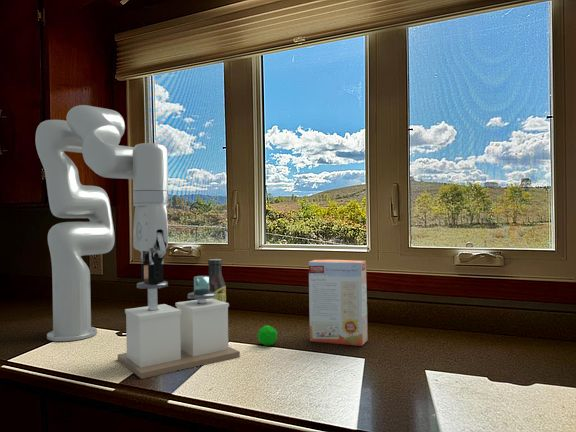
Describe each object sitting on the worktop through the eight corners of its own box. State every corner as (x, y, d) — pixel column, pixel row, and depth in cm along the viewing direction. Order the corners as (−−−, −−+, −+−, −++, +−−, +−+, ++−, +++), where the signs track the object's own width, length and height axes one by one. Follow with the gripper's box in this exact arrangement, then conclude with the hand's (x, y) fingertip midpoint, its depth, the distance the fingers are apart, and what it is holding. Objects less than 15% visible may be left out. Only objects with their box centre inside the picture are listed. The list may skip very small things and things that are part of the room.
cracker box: (368, 341, 119) (367, 259, 119) (362, 347, 113) (361, 262, 113) (316, 336, 124) (315, 258, 124) (309, 341, 118) (307, 260, 118)
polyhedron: (280, 343, 117) (280, 324, 117) (271, 348, 113) (271, 329, 113) (263, 341, 120) (263, 323, 120) (254, 346, 115) (253, 327, 115)
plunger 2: (183, 336, 111) (182, 276, 111) (208, 332, 114) (207, 274, 114) (195, 342, 105) (194, 279, 105) (221, 337, 109) (220, 276, 109)
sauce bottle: (221, 329, 133) (220, 260, 133) (201, 328, 134) (200, 260, 134) (229, 324, 139) (228, 258, 139) (209, 323, 140) (208, 258, 140)
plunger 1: (133, 329, 103) (132, 265, 103) (161, 324, 107) (160, 262, 107) (143, 334, 98) (142, 267, 98) (173, 330, 102) (172, 265, 102)
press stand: (117, 359, 106) (116, 307, 106) (208, 342, 120) (207, 295, 120) (141, 378, 93) (140, 319, 93) (239, 356, 107) (238, 305, 107)
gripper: (122, 200, 107) (123, 279, 107) (147, 198, 94) (149, 288, 94) (154, 201, 112) (155, 276, 112) (182, 198, 98) (183, 284, 98)
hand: (152, 281), depth 103 cm, fingers closed on plunger 1, 3 cm apart
